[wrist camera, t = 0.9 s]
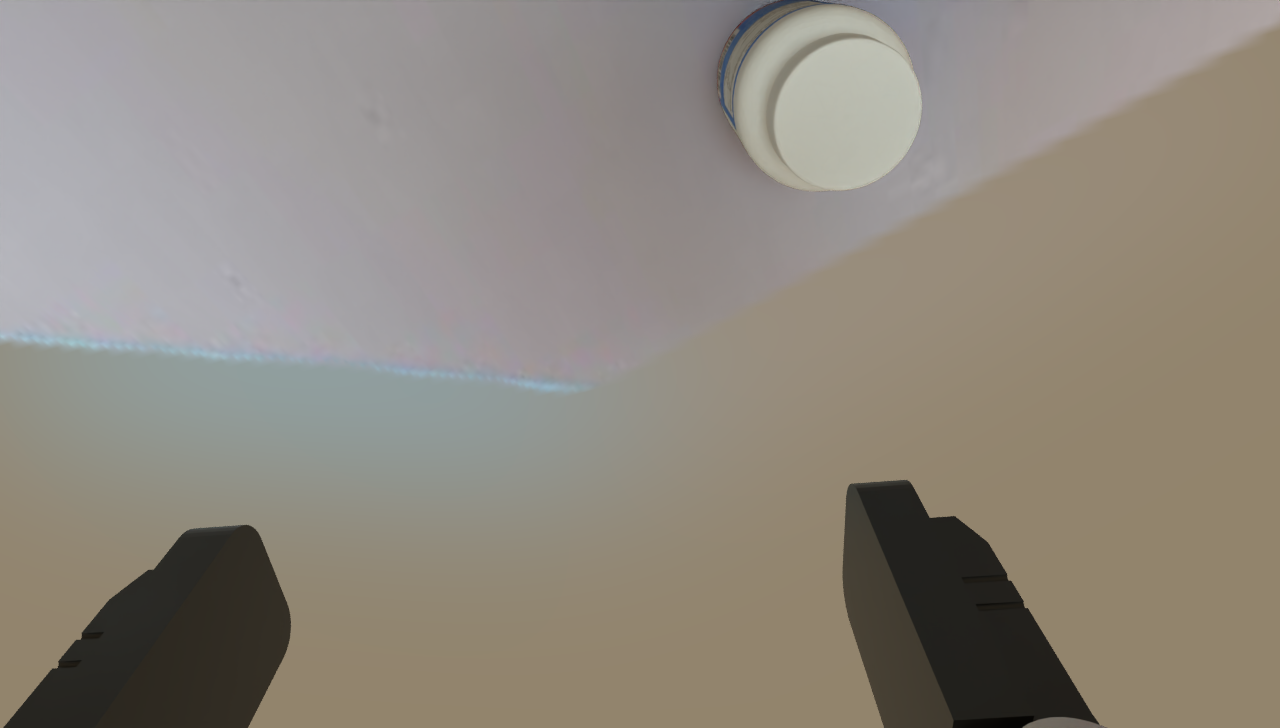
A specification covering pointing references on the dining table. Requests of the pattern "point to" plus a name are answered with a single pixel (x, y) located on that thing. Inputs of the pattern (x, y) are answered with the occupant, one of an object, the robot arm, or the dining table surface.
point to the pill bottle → (819, 94)
